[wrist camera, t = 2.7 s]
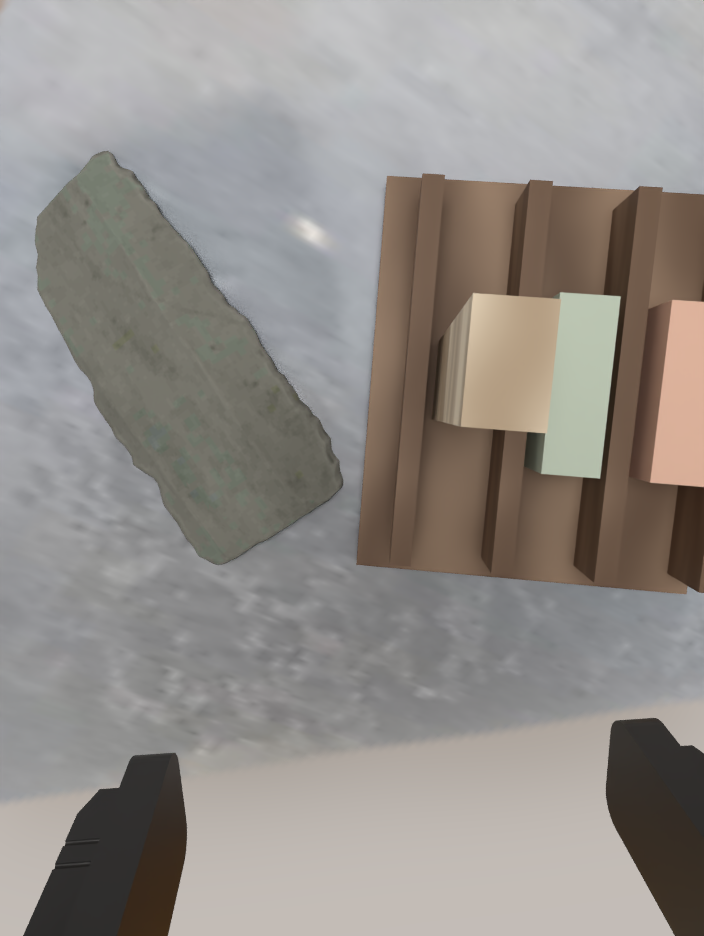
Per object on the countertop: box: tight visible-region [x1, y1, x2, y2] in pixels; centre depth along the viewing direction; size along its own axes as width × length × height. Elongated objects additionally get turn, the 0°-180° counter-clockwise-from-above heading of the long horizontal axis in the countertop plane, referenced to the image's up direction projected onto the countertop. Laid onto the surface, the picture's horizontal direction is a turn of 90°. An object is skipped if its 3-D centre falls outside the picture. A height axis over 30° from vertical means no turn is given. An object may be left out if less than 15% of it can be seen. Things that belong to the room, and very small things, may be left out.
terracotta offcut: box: [629, 300, 704, 487], centre depth 31 cm, size 3×8×4 cm, turn 175°
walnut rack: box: [356, 174, 704, 594], centre depth 32 cm, size 17×20×5 cm
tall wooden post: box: [432, 293, 561, 433], centre depth 27 cm, size 3×4×14 cm, turn 176°
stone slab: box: [35, 151, 343, 565], centre depth 36 cm, size 22×3×10 cm
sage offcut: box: [524, 292, 621, 479], centre depth 31 cm, size 3×8×4 cm, turn 176°
